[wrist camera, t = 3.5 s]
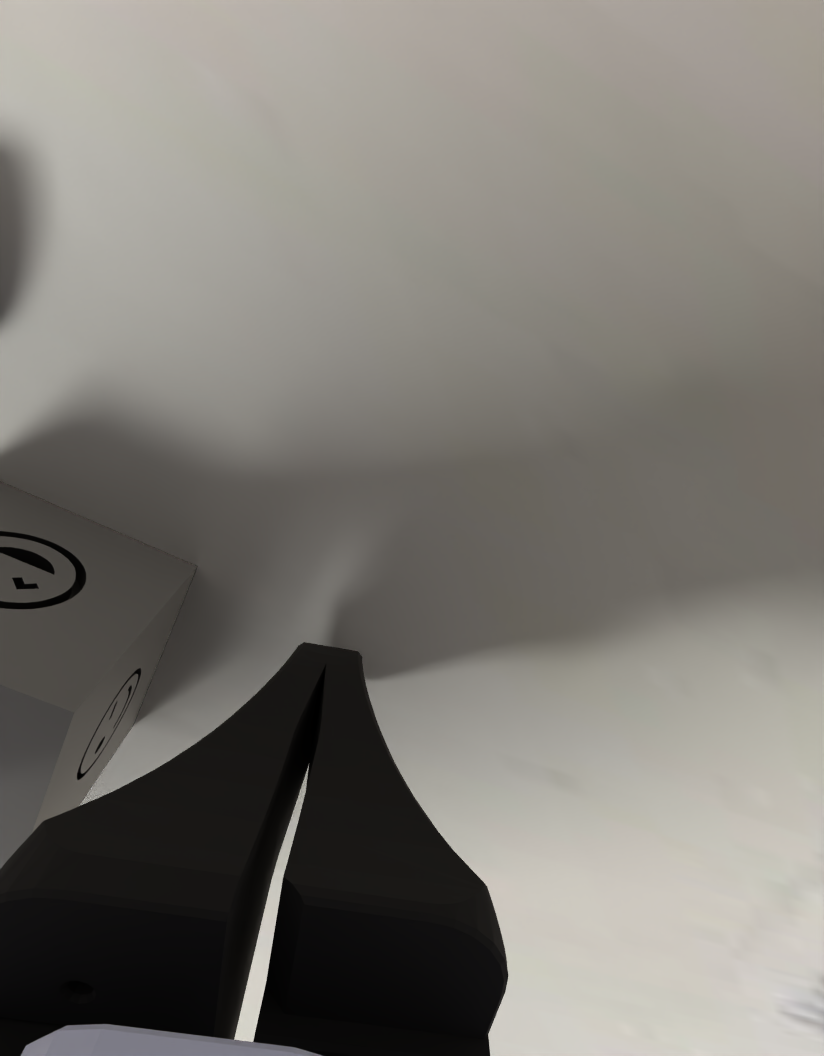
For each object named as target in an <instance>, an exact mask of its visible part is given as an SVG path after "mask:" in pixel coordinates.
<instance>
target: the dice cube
mask: <svg viewBox="0 0 824 1056" xmlns="http://www.w3.org/2000/svg"><path fill="white" fill-rule="evenodd" d="M196 568H197V566H195V565H193V564H191V563H188V562H186V561H184V560H181V559H179V558H177V557H174V556H172V555H170V554H167V553H165V552H163V551H160V550H158V549H156V548H154V547H151V546H149V545H147V544H144V543H142V542H140V541H137V540H135V539H133V538H130V537H128V536H126V535H123V534H121V533H119V532H116V531H114V530H112V529H109V528H107V527H105V526H103V525H100V524H98V523H96V522H93V521H91V520H89V519H86V518H84V517H82V516H79V515H77V514H75V513H72V512H70V511H68V510H65V509H63V508H61V507H58V506H56V505H54V504H52V503H49V502H47V501H45V500H42V499H40V498H38V497H35V496H33V495H31V494H28V493H26V492H24V491H21V490H19V489H17V488H14V487H12V486H10V485H7V484H5V483H3V482H1V481H0V869H1V868H2V867H3V865H4V864H5V863H6V861H7V860H8V859H9V858H10V857H11V856H12V855H13V853H14V852H15V851H16V850H17V849H18V848H19V847H20V846H21V845H22V844H23V843H24V841H25V840H26V839H27V838H28V837H29V836H30V835H31V834H32V833H33V832H34V830H35V829H36V828H37V827H38V826H39V825H40V824H41V823H42V822H43V821H44V820H46V819H49V818H52V817H54V816H57V815H59V814H62V813H64V812H67V811H69V810H71V809H74V808H76V807H78V806H79V805H80V803H81V802H82V800H83V799H84V798H85V796H86V795H87V793H88V792H89V790H90V789H91V787H92V786H93V784H94V783H95V781H96V780H97V778H98V777H99V775H100V774H101V772H102V771H103V769H104V768H105V766H106V765H107V763H108V762H109V760H110V759H111V758H112V756H113V755H114V753H115V752H116V750H117V749H118V747H119V746H120V744H121V743H122V741H123V740H124V738H125V737H126V735H127V734H128V732H129V731H130V729H131V728H132V726H133V724H134V722H135V719H136V717H137V715H138V712H139V710H140V707H141V705H142V702H143V700H144V697H145V695H146V692H147V690H148V687H149V685H150V682H151V680H152V677H153V675H154V672H155V670H156V667H157V665H158V663H159V660H160V658H161V655H162V653H163V650H164V648H165V645H166V643H167V640H168V638H169V635H170V633H171V630H172V628H173V625H174V623H175V620H176V618H177V616H178V613H179V611H180V608H181V606H182V603H183V601H184V598H185V596H186V593H187V591H188V588H189V586H190V583H191V581H192V578H193V576H194V573H195V571H196Z"/></svg>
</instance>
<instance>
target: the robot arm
mask: <svg viewBox="0 0 824 1056" xmlns="http://www.w3.org/2000/svg"><path fill="white" fill-rule="evenodd" d="M308 765H309V770H308V778H307V787H306V793H305V797H304V801H303V805H302V809H301V813H300V817H299V821H298V825H297V829H296V832H295V836H294V840H293V844H292V847H291V851H290V855H289V858H288V862H287V866H286V869H285V873H284V877H283V883H282V889H281V895H280V901H279V907H278V914H277V920H276V926H275V932H274V938H273V944H272V950H271V957H270V963H269V969H268V975H267V981H266V986H265V991H264V996H263V1000H262V1005H261V1009H260V1014H259V1018H258V1023H257V1027H256V1032H255V1037H254V1042H247V1041H239V1040H234V1037H235V1033H236V1029H237V1024H238V1020H239V1016H240V1011H241V1007H242V1003H243V998H244V994H245V990H246V985H247V981H248V977H249V972H250V968H251V964H252V960H253V955H254V951H255V947H256V943H257V938H258V934H259V930H260V926H261V921H262V917H263V913H264V909H265V905H266V900H267V896H268V892H269V888H270V884H271V879H272V876H273V872H274V869H275V865H276V862H277V859H278V855H279V852H280V849H281V846H282V843H283V840H284V837H285V834H286V831H287V828H288V825H289V822H290V819H291V816H292V813H293V810H294V807H295V804H296V801H297V798H298V795H299V792H300V789H301V786H302V783H303V780H304V777H305V774H306V771H307V768H308ZM507 980H508V971H507V960H506V954H505V948H504V944H503V940H502V935H501V931H500V928H499V924H498V920H497V916H496V913H495V910H494V906H493V903H492V900H491V897H490V894H489V891H488V888H487V886H486V885H485V883H484V882H483V881H482V880H481V879H480V878H479V877H478V876H477V875H476V874H475V873H474V872H473V871H472V870H471V869H470V868H469V866H468V865H467V864H466V863H465V862H464V861H463V860H462V859H461V858H460V857H459V856H458V855H457V854H456V853H455V852H454V851H453V849H452V848H451V847H450V846H449V845H448V843H447V842H446V841H445V840H444V838H443V837H442V836H441V835H440V833H439V832H438V831H437V829H436V828H435V826H434V825H433V824H432V822H431V821H430V819H429V818H428V816H427V815H426V813H425V812H424V811H423V809H422V808H421V806H420V805H419V803H418V802H417V800H416V799H415V798H414V796H413V794H412V793H411V791H410V789H409V787H408V786H407V784H406V782H405V781H404V779H403V777H402V775H401V773H400V772H399V770H398V768H397V766H396V764H395V762H394V760H393V758H392V756H391V754H390V752H389V750H388V747H387V745H386V743H385V740H384V738H383V736H382V733H381V731H380V728H379V726H378V723H377V720H376V717H375V714H374V711H373V708H372V705H371V702H370V699H369V695H368V692H367V688H366V683H365V679H364V674H363V667H362V656H361V655H360V653H359V652H358V651H352V650H346V649H340V648H335V647H329V646H323V645H317V644H311V643H305V642H304V643H302V644H301V645H299V646H298V647H297V649H296V650H295V651H294V653H293V654H292V655H291V657H290V658H289V659H288V660H287V662H286V663H285V664H284V665H283V666H282V667H281V669H280V670H279V671H278V672H277V673H276V674H275V675H274V676H273V677H272V678H271V679H270V680H269V681H268V682H267V683H266V684H265V686H264V687H263V688H262V689H261V690H260V691H259V692H258V693H257V694H256V695H255V696H253V697H252V698H251V699H250V700H249V701H248V702H247V703H246V704H245V705H243V706H242V707H241V708H240V709H239V710H238V711H237V712H236V713H234V714H233V715H232V716H231V717H230V718H229V719H227V720H226V721H225V722H224V723H223V724H221V725H220V726H219V727H217V728H216V729H215V730H214V731H212V732H211V733H210V734H208V735H207V736H205V737H204V738H203V739H201V740H200V741H199V742H197V743H196V744H194V745H193V746H191V747H190V748H188V749H187V750H185V751H184V752H182V753H181V754H179V755H178V756H176V757H175V758H173V759H172V760H170V761H168V762H167V763H165V764H163V765H162V766H160V767H158V768H157V769H155V770H153V771H151V772H150V773H148V774H146V775H144V776H142V777H140V778H138V779H136V780H134V781H133V782H131V783H129V784H127V785H125V786H123V787H121V788H119V789H117V790H115V791H113V792H111V793H109V794H107V795H104V796H102V797H100V798H98V799H95V800H93V801H90V802H88V803H86V804H83V805H81V806H79V807H76V808H74V809H71V810H69V811H67V812H64V813H62V814H59V815H57V816H54V817H52V818H49V819H46V820H44V821H43V822H42V823H41V824H40V825H39V826H38V827H37V828H36V829H35V830H34V832H33V833H32V834H31V835H30V836H29V837H28V838H27V839H26V840H25V841H24V843H23V844H22V845H21V846H20V847H19V848H18V849H17V850H16V851H15V852H14V853H13V855H12V856H11V857H10V858H9V859H8V860H7V861H6V863H5V864H4V865H3V867H2V868H1V869H0V1056H490V1049H489V1039H488V1033H489V1031H490V1028H491V1026H492V1023H493V1021H494V1018H495V1016H496V1013H497V1011H498V1008H499V1006H500V1004H501V1001H502V999H503V996H504V994H505V990H506V985H507Z"/></svg>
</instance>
